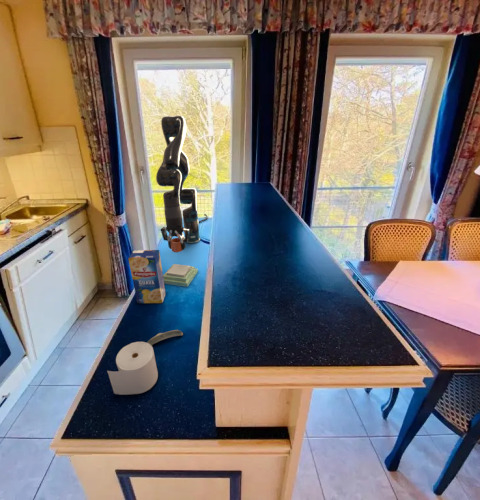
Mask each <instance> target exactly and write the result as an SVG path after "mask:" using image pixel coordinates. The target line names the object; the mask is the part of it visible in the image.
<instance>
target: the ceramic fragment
mask: <svg viewBox="0 0 480 500" xmlns="http://www.w3.org/2000/svg"><path fill="white" fill-rule="evenodd" d="M179 336H181V337H182V336H184V333H183V332H182V331H181V330H179V329H174V330H169V331H165V332H159V333H157V334H156V335H155V336H153V337H151V338H150V339H149V340H147V342H146V343H149V344H150V345H151V346H153V345H155V344H157V343H159V342H161V341H163V340H166V339H169V338H173V337H179Z"/></svg>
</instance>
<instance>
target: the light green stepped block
mask: <svg viewBox="0 0 480 500" xmlns="http://www.w3.org/2000/svg"><path fill="white" fill-rule="evenodd" d="M174 264H175V263H172V265H171V266H169V268H168V269H167V270H166V271H165V272H164V273H163V279H164V285H172V286H180V287H184V288H185V287H187V288H188V287H189V285H190V284H191V283H192V281H193V280H194V278H195V277H196V275H197V274H198V272H199V269H198V268H196V266H191V265H190V266H191V269H190V271H189V272H188V273H187V275H186V276H185V277H176V276H168V275H167V274H166V273H167V272H168V271H169V269H170V268H171V267H172V266H173V265H174Z"/></svg>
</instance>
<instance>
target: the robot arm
mask: <svg viewBox="0 0 480 500" xmlns="http://www.w3.org/2000/svg"><path fill="white" fill-rule="evenodd" d="M160 121H161V123H160V124H161V130H162V135H163V138H164V141H165V144H166V147H165V149H164V150H163V151H164V152H163V158H162V162H161V164H160V166H159V168H158V169H157V172H156V175H155V179H156V183H157V185H158V186H159V187H162V188H163V187H173V189H171V190H167V191H165V192H164V193H163V194H162V200H163V209H164V210H163V211H164V218H165V226H166V227H165V226H163V227H161V228H160V232H161V235H162V239H163V241H167V246H168V248H169V249H170V250H172V249H171V242H170V241H171V239H173V237H175V238H179V239H180V241H181V247H182V250H183V251H184V250H185V249H186V248H187V245H186V243H187V244H196V243H198V242H200V241H201V238H200V225H199V224H200V223H201V222H204V221H206V220H208V219H209V217H208V215H207V214H206V213H204V214H203V216H205V217H206V218H204V219H201V220H199V212H198V191H197V189H196V188H194V187H186V188H185V187H184V184H185V181H186V180H187V178H188V176H189V174H190V168H191V167H190V163H189V158H188V156H187V154H186V153H185V152H184V151H183V150H182V149H183V145H184V141H185V139H186V133H187V123H186V120H185V117H184V116H183V115H171V116H170V115H168V116H163V117H162V118H161V120H160ZM181 205H190V206H189V207H186V208H184V209H182V206H181Z"/></svg>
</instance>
